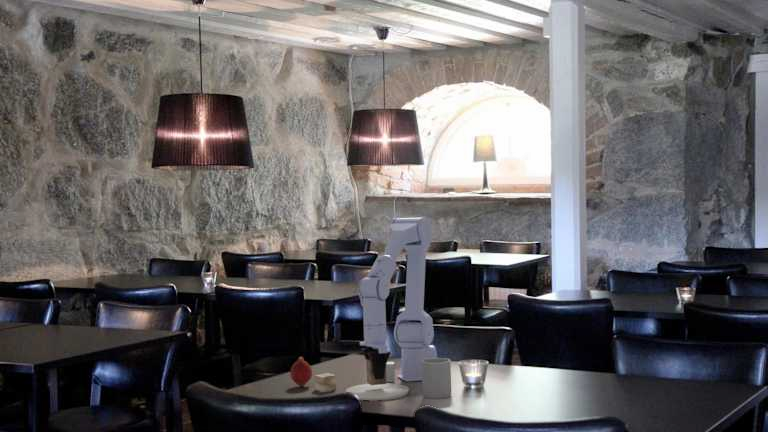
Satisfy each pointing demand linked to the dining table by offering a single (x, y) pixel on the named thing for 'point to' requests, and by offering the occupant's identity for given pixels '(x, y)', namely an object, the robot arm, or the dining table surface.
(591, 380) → the dining table surface
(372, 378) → the walnut block
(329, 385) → the oak block
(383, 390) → the plate
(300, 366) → the onion
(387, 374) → the grey block
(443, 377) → the cup
